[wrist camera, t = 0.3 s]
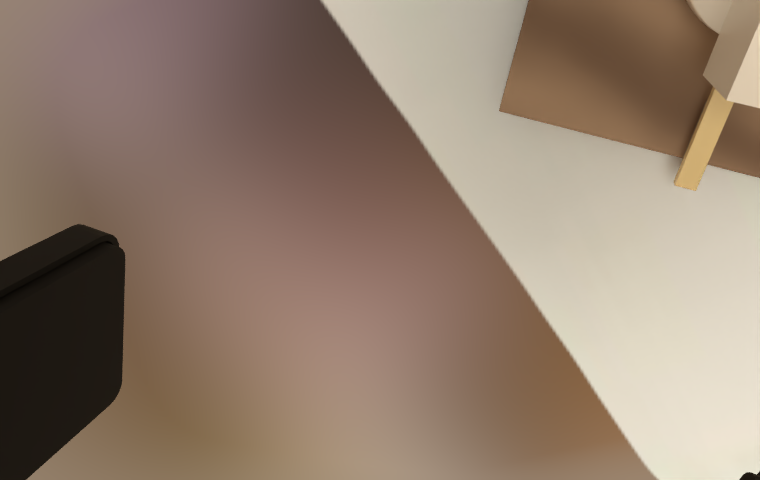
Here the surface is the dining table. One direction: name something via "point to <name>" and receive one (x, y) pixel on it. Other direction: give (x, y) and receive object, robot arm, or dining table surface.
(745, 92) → the dial knob
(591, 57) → the dial board
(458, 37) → the dining table surface
